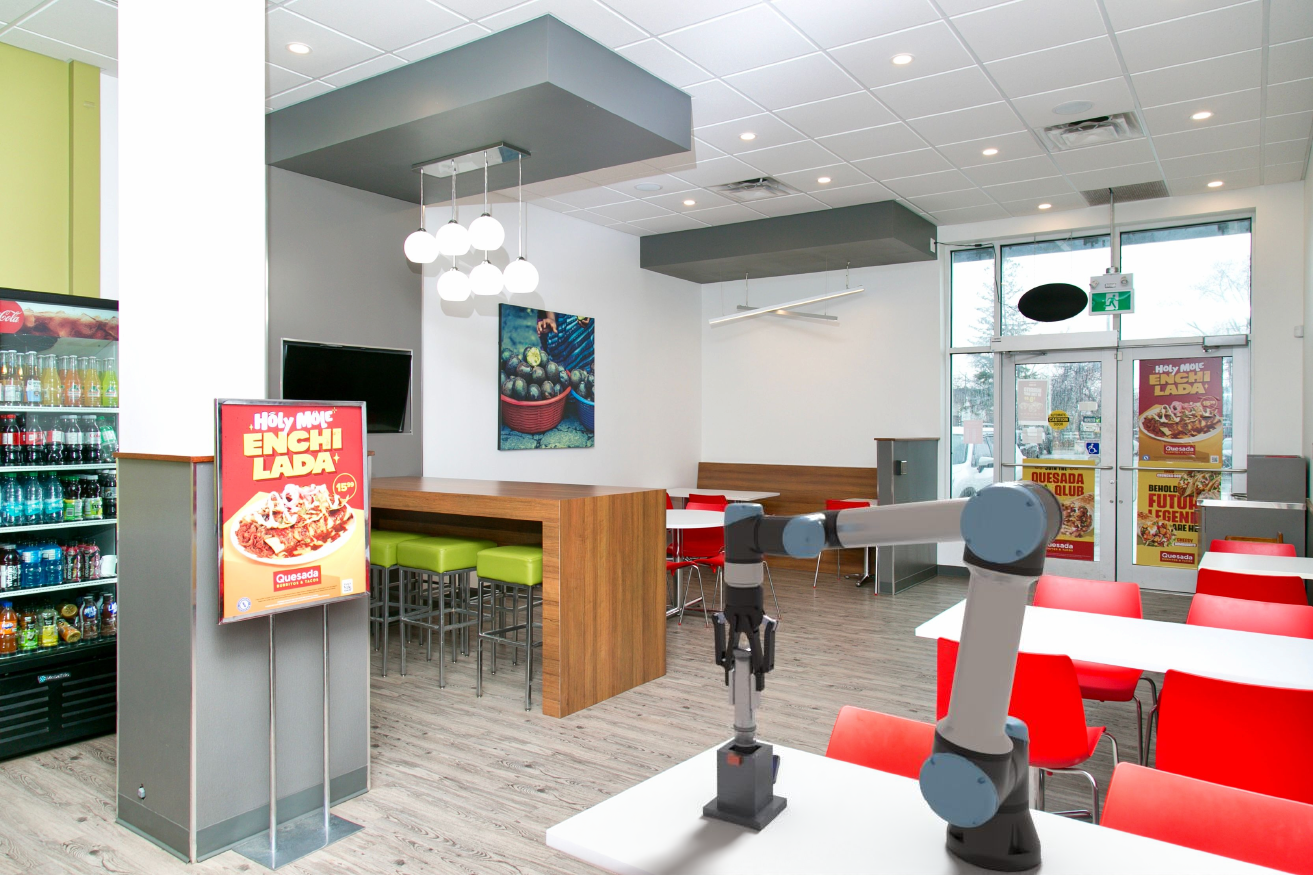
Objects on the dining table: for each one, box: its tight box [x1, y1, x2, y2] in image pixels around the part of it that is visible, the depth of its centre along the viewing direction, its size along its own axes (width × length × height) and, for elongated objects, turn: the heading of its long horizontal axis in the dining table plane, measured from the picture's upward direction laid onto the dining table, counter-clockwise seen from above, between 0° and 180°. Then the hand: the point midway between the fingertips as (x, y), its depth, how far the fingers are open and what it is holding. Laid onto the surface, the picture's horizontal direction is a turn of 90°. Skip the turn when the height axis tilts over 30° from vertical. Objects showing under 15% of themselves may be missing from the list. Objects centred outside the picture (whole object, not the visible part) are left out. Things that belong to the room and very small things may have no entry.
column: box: [732, 645, 757, 754], centre depth 156 cm, size 5×5×23 cm
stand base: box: [702, 737, 788, 832], centre depth 156 cm, size 12×12×12 cm
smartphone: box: [773, 754, 781, 785], centre depth 176 cm, size 7×1×15 cm
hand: (744, 704), depth 156 cm, fingers closed on column, 4 cm apart
